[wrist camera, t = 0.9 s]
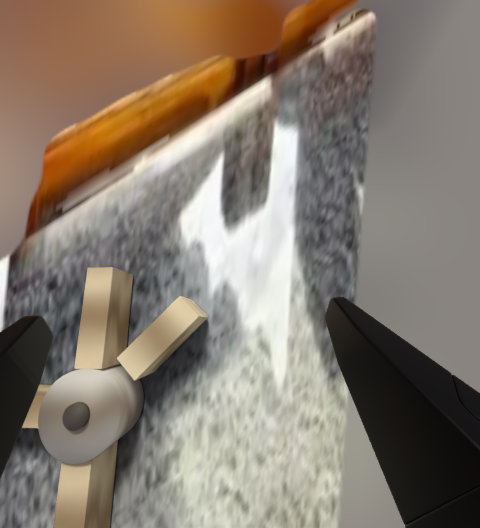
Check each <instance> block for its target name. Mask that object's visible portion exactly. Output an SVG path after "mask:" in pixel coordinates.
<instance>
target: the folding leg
mask: <svg viewBox="0 0 480 528" xmlns="http://www.w3.org/2000/svg"><path fill="white" fill-rule="evenodd" d="M207 318H208V317H207V316H206V315H205V313H204V312H203V311H202V310H201V309H200V308H199V307H198V306H197V305H196V304H195V303H194V302H193V301H192V300H190V299H188V298H185V297H182V296H179V297H178V298H177V299H176V300H175V301H174V302H173V303H172V304H171V305H170V306H169V307H168V308H167V309H166V310H165V311H164V312H163V313H162V314H161V315H160V316H159V317H158V318H157V319H156V320H155V321H154V322H153V323H152V324H151V325H150V326H149V327H148V328H147V329H146V330H145V331H144V332H143V333H142V334H141V335H140V336H139V337H138V338H137V339H136V340H135V341H134V342H133V343H132V344H131V345H130V346H129V347H128V348H126V349H125V350H124V351H123V352H122V353H121V354H120V355H119V356H118V357H117V360H118V361H119V362H120V363H121V365H122V366H123V367H124V368H125V370H126V371H127V372H128V373H129V375H130V376H131V377H132V378H133V380H134V381H135V380H137V379H140V378H142V377H144V376H146V375H149V374H151V373H153V372H154V371H155V370H156V369H157V368H158V367H159V366H160V365H161V364H162V363H163V362H164V361H165V360H166V359H167V358H168V357H169V356H170V355H171V354H172V353H173V352H174V351H175V350H176V349H177V348H178V347H179V346H180V345H181V344H182V343H183V342H184V341H185V340H186V339H187V338H188V337H189V336H190V335H191V334H192V333H193V332H194V331H195V330H196V329H197V328H198V327H199V326H200V325H201V324H202V323H203V322H204V321H205V320H206V319H207Z"/></svg>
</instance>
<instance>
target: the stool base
mask: <svg viewBox="0 0 480 528" xmlns="http://www.w3.org/2000/svg"><path fill="white" fill-rule="evenodd" d="M132 283H133V275H132V274H129V273H126V272H124V271H121V270H119V269H116V268H113V267H107V268H88V271H87V278H86V286H85V293H84V301H83V308H82V316H81V323H80V330H79V338H78V345H77V353H76V360H75V368H74V369H80V370H76V371H73V372H70V373H68V374H66V375H64V376H62V377H61V378H59V379H58V380H57V381H56V382H55V383H54V384H53V385H39V387H38V390H37V392H36V395H35V398H34V400H33V402H32V405H31V407H30V409H29V412H28V414H27V417H26V419H25V421H24V424H23V426H22V428H38V429H39V435H40V438H41V441H42V443H43V445H44V447H45V448H46V450H47V451H48V452H49V453H50V454H51V455H52V456H53V457H54V458H56V459H57V460H59V461H61V462H62V465H61V473H60V480H59V488H58V495H57V503H56V510H55V518H54V525H53V528H110V520H111V509H112V498H113V488H114V477H115V466H116V455H117V445H118V439H119V438H121V437H122V436H123V435H124V434H126V433H127V432H128V431H129V430H130V429H131V428H132V427H133V426H134V425H135V423H136V422H137V420H138V418H139V417H140V414H141V412H142V408H143V403H144V392H143V387H142V384H141V381H140V379H137V380H135V381H134V380H133V378H132V377H131V376H130V375H129V373H128V372H127V371H126V370H125V368H124V367H123V366H122V365H121V363H120V362H119V361H118V360H117V357H118V356H119V355H120V354H121V353H122V352H123V351H124V350H125V349H126V348H127V337H128V326H129V316H130V305H131V294H132Z"/></svg>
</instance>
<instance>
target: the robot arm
mask: <svg viewBox="0 0 480 528" xmlns="http://www.w3.org/2000/svg"><path fill="white" fill-rule="evenodd" d="M325 320H326V324H327V327H328V331H329V334H330V338H331V341H332V345H333V348H334V351H335V355H336V358H337V361H338V364H339V367H340V369H341V372H342V374H343V377H344V379H345V382H346V384H347V386H348V389H349V391H350V394H351V396H352V398H353V401H354V403H355V406H356V408H357V411H358V413H359V415H360V418H361V420H362V423H363V425H364V428H365V430H366V433H367V435H368V437H369V440H370V442H371V445H372V447H373V449H374V452H375V454H376V457H377V459H378V462H379V464H380V467H381V469H382V471H383V474H384V476H385V479H386V481H387V484H388V486H389V488H390V491H391V493H392V496H393V498H394V500H395V503H396V505H397V508H398V510H399V513H400V515H401V517H402V520H403V522H404V524H405V528H480V393H479V392H477V391H476V390H474V389H473V388H472V387H470V386H469V385H467V384H466V383H464V382H463V381H462V380H460V379H459V378H457V377H456V376H455V375H451V373H450V372H449V371H447V370H446V369H445V368H443V367H442V366H440V365H439V364H438V363H436V362H435V361H433V360H432V359H431V358H429V357H428V356H426V355H425V354H423V353H422V352H421V351H419V350H418V349H416V348H415V347H414V346H412V345H411V344H409V343H408V342H407V341H405V340H404V339H402V338H401V337H400V336H398V335H397V334H395V333H394V332H392V331H391V330H390V329H388V328H387V327H385V326H384V325H383V324H381V323H380V322H378V321H377V320H376V319H374V318H373V317H371V316H370V315H368V314H367V313H366V312H364V311H363V310H362V309H360V308H359V307H357V306H356V305H355V304H353V303H352V302H350V301H349V300H348V299H346V298H344V297H333V298H331V299H330V302H329V305H328V308H327V311H326V315H325ZM52 341H53V334H52V332H51V330H50V328H49V327H48V325H47V323H46V322H45V320H44V318H43V317H41V316H39V315H36V316H25V317H22V318H21V319H19V320H18V321H16V322H15V323H13V324H12V325H10V326H9V327H7V328H6V329H4V330H3V331H2V332H0V478H1V476H2V474H3V471H4V469H5V466H6V464H7V462H8V459H9V457H10V455H11V452H12V450H13V447H14V445H15V443H16V440H17V438H18V436H19V433H20V431H21V428H22V426H23V424H24V421H25V419H26V417H27V414H28V412H29V409H30V407H31V405H32V402H33V400H34V398H35V395H36V392H37V390H38V387H39V384H40V381H41V378H42V374H43V371H44V368H45V364H46V361H47V358H48V354H49V351H50V348H51V344H52Z"/></svg>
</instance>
